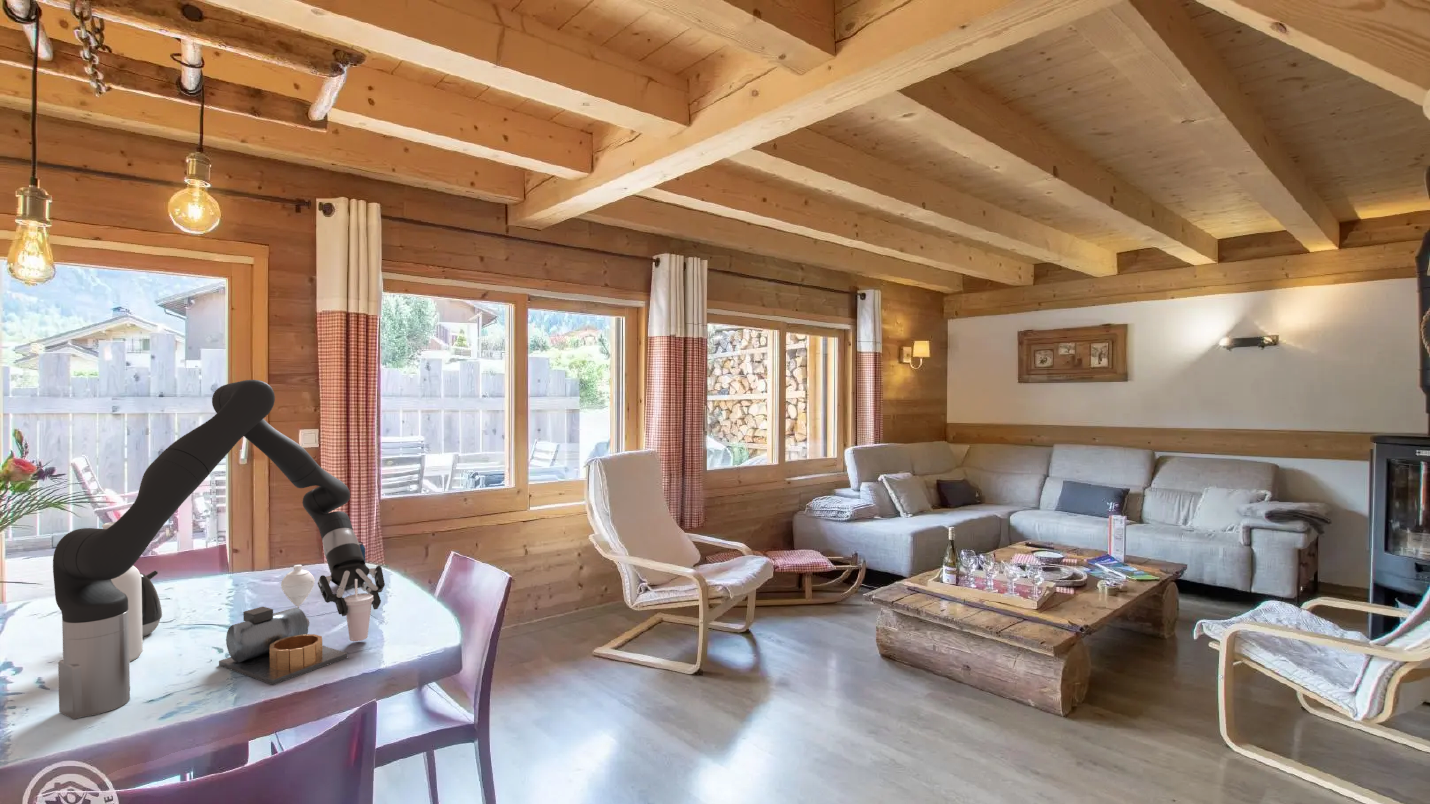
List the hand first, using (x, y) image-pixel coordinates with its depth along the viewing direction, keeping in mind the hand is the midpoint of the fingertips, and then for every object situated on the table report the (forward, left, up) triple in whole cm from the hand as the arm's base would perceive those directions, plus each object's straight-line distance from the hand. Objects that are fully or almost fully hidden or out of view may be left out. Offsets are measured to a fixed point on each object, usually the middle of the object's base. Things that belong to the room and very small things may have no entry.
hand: (361, 610), depth 161 cm
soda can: (+31, +48, -8) cm, 58 cm away
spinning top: (+8, +37, -8) cm, 39 cm away
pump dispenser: (-22, +52, -8) cm, 58 cm away
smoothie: (0, +2, -7) cm, 7 cm away
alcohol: (-31, +38, -8) cm, 50 cm away
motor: (-14, +5, -8) cm, 17 cm away
